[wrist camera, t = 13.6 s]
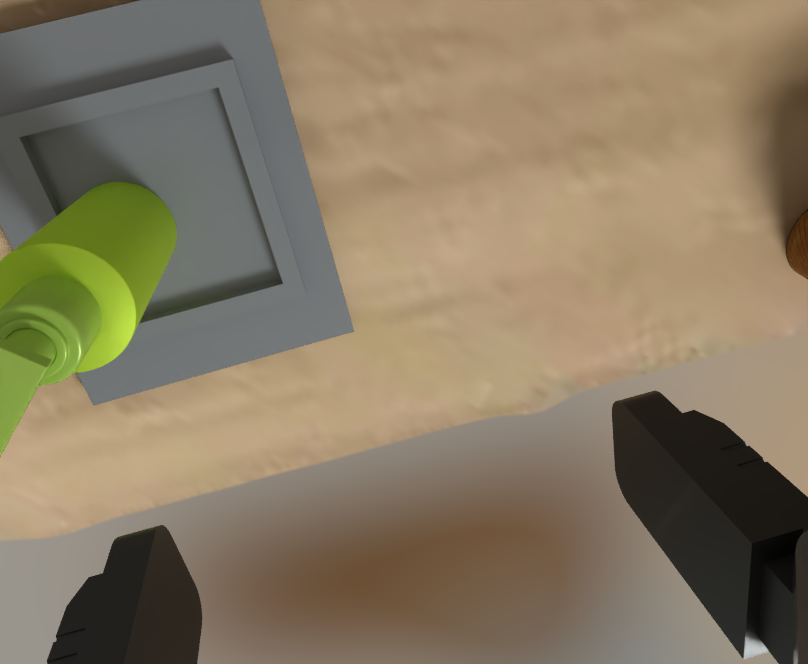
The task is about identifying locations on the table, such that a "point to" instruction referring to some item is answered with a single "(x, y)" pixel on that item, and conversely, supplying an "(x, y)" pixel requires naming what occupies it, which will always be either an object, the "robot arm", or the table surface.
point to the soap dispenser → (78, 290)
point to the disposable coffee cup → (799, 246)
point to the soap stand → (175, 176)
